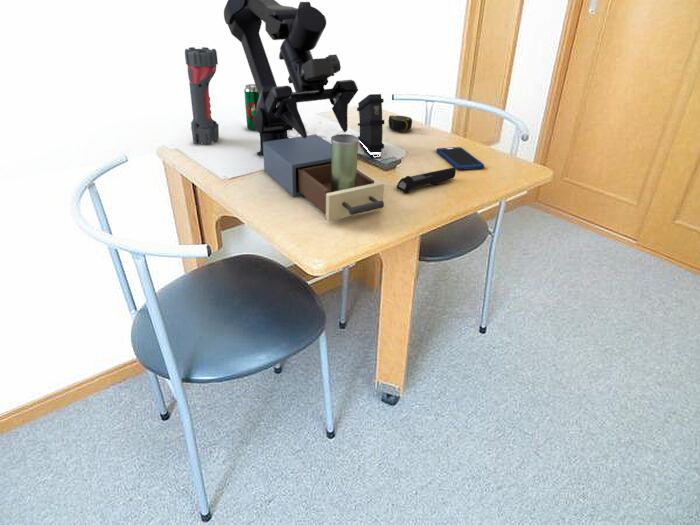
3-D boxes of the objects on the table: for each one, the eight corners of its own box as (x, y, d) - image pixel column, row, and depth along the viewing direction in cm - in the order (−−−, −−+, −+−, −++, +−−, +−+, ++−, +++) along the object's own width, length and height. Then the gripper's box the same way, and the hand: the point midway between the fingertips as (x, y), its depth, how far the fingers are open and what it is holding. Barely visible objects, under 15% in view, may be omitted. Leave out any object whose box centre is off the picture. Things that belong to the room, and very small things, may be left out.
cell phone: (460, 149, 131) (460, 146, 131) (485, 168, 120) (485, 165, 120) (435, 150, 130) (435, 148, 129) (458, 170, 118) (458, 167, 118)
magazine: (372, 157, 120) (368, 94, 118) (359, 161, 132) (354, 104, 130) (387, 156, 121) (383, 93, 118) (372, 160, 133) (368, 104, 131)
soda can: (256, 125, 143) (253, 82, 137) (268, 128, 141) (266, 85, 134) (243, 129, 140) (239, 85, 133) (256, 132, 137) (253, 89, 131)
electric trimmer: (458, 182, 113) (460, 169, 111) (405, 194, 106) (407, 181, 104) (447, 177, 116) (449, 164, 114) (395, 188, 108) (396, 175, 107)
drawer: (394, 216, 95) (396, 191, 92) (339, 230, 89) (340, 204, 86) (346, 182, 108) (346, 159, 105) (295, 192, 102) (294, 168, 100)
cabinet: (348, 185, 109) (349, 155, 105) (293, 197, 103) (292, 165, 99) (315, 162, 120) (315, 134, 116) (264, 171, 114) (262, 142, 110)
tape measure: (410, 127, 147) (411, 114, 145) (411, 134, 141) (413, 121, 139) (387, 126, 147) (388, 113, 145) (388, 133, 141) (389, 120, 139)
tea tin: (325, 200, 97) (326, 139, 90) (337, 191, 101) (339, 132, 94) (348, 206, 95) (350, 144, 88) (360, 197, 99) (363, 137, 92)
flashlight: (228, 136, 134) (219, 46, 121) (221, 146, 127) (210, 52, 115) (200, 135, 134) (188, 45, 121) (191, 144, 127) (178, 50, 115)
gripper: (267, 41, 88) (295, 118, 86) (355, 37, 96) (382, 107, 94) (254, 78, 98) (279, 148, 96) (335, 71, 106) (359, 135, 104)
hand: (326, 134), depth 97 cm, fingers open, 9 cm apart
